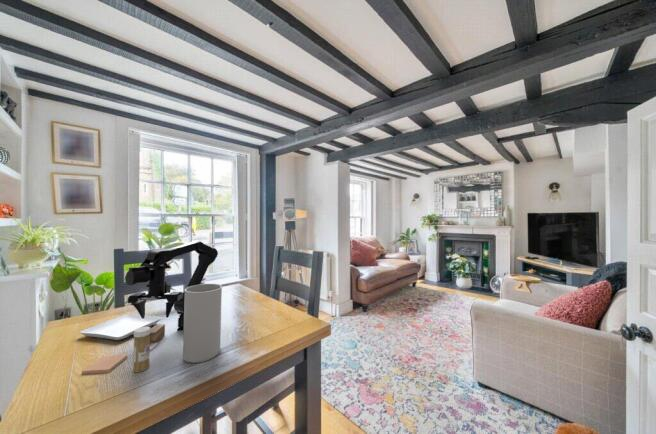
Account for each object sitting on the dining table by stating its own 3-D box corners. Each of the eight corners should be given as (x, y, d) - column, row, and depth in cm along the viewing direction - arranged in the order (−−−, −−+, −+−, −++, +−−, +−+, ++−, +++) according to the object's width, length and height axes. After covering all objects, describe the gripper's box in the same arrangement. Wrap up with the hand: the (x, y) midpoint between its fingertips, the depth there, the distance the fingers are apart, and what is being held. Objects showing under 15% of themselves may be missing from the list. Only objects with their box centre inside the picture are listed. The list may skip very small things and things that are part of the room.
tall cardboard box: (167, 335, 107) (168, 324, 108) (151, 351, 95) (151, 338, 95) (152, 336, 107) (152, 324, 107) (133, 352, 94) (134, 339, 94)
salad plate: (118, 345, 100) (119, 336, 100) (77, 339, 104) (77, 331, 104) (163, 323, 120) (163, 316, 120) (127, 319, 124) (127, 313, 124)
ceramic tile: (127, 354, 90) (109, 369, 81) (127, 358, 90) (109, 373, 81) (103, 355, 89) (81, 370, 80) (103, 360, 89) (81, 375, 80)
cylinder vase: (195, 345, 99) (196, 283, 100) (225, 346, 99) (227, 284, 99) (174, 363, 87) (177, 292, 87) (209, 364, 86) (211, 292, 87)
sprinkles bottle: (145, 372, 82) (146, 331, 82) (129, 373, 80) (130, 332, 81) (152, 364, 86) (153, 325, 86) (137, 365, 85) (138, 326, 85)
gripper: (188, 275, 113) (187, 310, 112) (143, 276, 110) (142, 311, 110) (177, 281, 102) (176, 319, 101) (127, 282, 99) (125, 321, 99)
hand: (155, 317), depth 103 cm, fingers open, 9 cm apart
